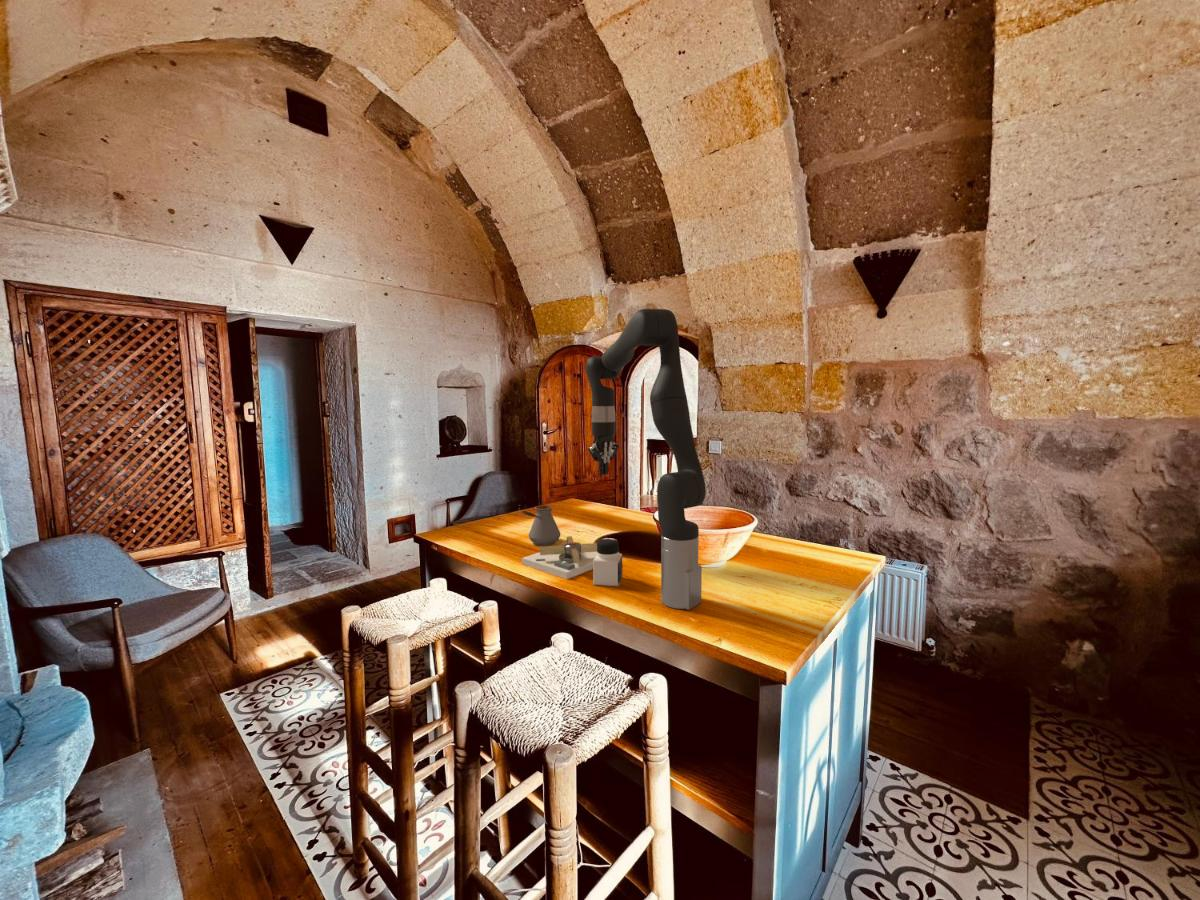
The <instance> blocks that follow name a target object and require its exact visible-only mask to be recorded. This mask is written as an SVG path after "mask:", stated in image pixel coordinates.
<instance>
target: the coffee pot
mask: <svg viewBox="0 0 1200 900" xmlns="http://www.w3.org/2000/svg"><path fill="white" fill-rule="evenodd" d="M553 509H554V507H553V506H551V505H537V506H535V507H534V510H535V511H536V513H535V514H534V513H532V512H530V511H527V510H522V511H520V512H519V514H518V515H519V516H521V513H522V514H524V516H522V518H524V517H525V516H526V515H527V516H528V517H533V518H534V520H533V523H532V526H531V527H530V530H529V532H528V535H527V537H528V539H529V540H530V541H531V542H532V543H533V544H534V545H535V546H536V545H537V546H541V547H544V546H552V545H554V544H555V543H556V542H557V541H558V540H559V539H560V537H561V532H560V529H559V527H558V525H557V523H556V521H555V518H554V516H553V514H552V510H553Z"/></svg>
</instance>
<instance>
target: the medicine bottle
mask: <svg viewBox="0 0 1200 900" xmlns="http://www.w3.org/2000/svg"><path fill="white" fill-rule="evenodd" d="M596 543H597V556H596V557H595V559H594V560H593V569H592V570H593V571H592V573H593V574H592V576H593V577H592V579H593V581H592V582H593V585H594V586H605V587H606V586H608V587H619V586H620V583H621V581H622V579H623V554H622V553H620V552H619V547H620V545H619V541H618V540H617V539H615V538H610V537H609V538H608V537H605V538H601V539H599V540H597V541H596Z"/></svg>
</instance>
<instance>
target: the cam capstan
mask: <svg viewBox="0 0 1200 900" xmlns="http://www.w3.org/2000/svg"><path fill="white" fill-rule="evenodd" d="M539 552H540V555H553V554H561V555H559V560H562V561H566V562H574V563H579V560H581V558H582V556H581V553H583V552H597V542H593V543H580V542H577V541H574V538H573V537H572V536H568V535H567V536H566V542H561V543H560V545H544V546H539Z"/></svg>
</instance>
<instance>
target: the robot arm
mask: <svg viewBox="0 0 1200 900" xmlns="http://www.w3.org/2000/svg"><path fill="white" fill-rule="evenodd" d="M640 346H644V347H653V346H654V347H658V348H659V353H660V365H659V366H660V367H659V370H658V374H657V376H656V378H655V379H654V380H655V381H654V382H653V384H652V389H651V391H650V396H649V402H650V409H651V417H652V419H653V424H654V426H655V428H656V430H657V431H658V433H659V435H661V437H662V438H663V440H664V441H665V442H666V443H667V445H668V447H669V448H670V450H671V452H672V454H673V456H674V460H675V464H676V469H677V471H675V472H673V471H672V472H669V473H665V474H662V475H661V477H660V478H659V480H658V484H657V488H656V496H657V497H656V498H657V501H656V502H657V513H658V514H657V517H658V524H659V526H660V535H661V536H660V537H661V538H660V541H661V542H660V543H661V546H660V549H661V550H660V552H661V553H660V556H661V557H660V563H661V565H660V568H661V569H660V570H661V571H660V579H661V581H660V586H661V588H660V589H661V590H660V601H661V603H662V604H663V605H665V606H666V607H670V608H671V609H680V610H681V609H682V610H687V611H688V610H689V611H690V610H692V609H693V608H694V607H696V606H698V605H699V604H701V603H702V581H703V580H702V578H703V577H702V574H703V573H702V571H703V569H702V565H699V542H700V541H699V532H700V531H699V530H700V529H699V525H698V524H697V523H696V522H694V521H691V520H688V519H686V515H685V509H690V508H695V507H699V506H700V505H702V504H703V502H704V501H705V499H706V495H707V489H706V488H707V486H706V481H705V477H704V473H703V469H702V466H701V462H700V459H699V456H698V455H699V454H698V451H697V448H696V443H695V438H694V434H693V428H692V422H691V416H690V409H689V402H688V398H687V394H686V393H687V392H686V388H685V383H684V376H683V370H682V369H683V368H682V363H681V362H682V361H681V351H680V350H681V349H680V339H679V327H678V321H677V318H676V316H675V314H674V313H673V311H672V310H670V309H666V308H665V309H664V308H642V309H639V310H637V311H636V312H635V313H634V314H633V315H632V317H631V318H630V319H629V321H628V322H627V324H626V326H625V327H624V328H623V330H622V331H621V333H620V335H619V336H618V338H617V339H616V340H615V342H613V343H612V344H611V345H610V346H609V347H608V348H607V349H605V350H604V352H603V353H602V356H591V357H589V358H588V360H587V361H586V364H585V371H586V372H585V373H586V375H587V379H588V382H589V385H590V390H591V401H592V402H591V403H592V404H591V405H592V407H591V408H592V409H591V435H592V436H593V441H592V445H590V446H588V447H587V450H588V452H589V453H590V455H591V457H592V459H593V460H594V461H595V462H596V463H598V464H599V474H600V475H601V476H602V475H603V476H606V475H608V474H609V469H610V468H609V466H610V462H611V461H613V460H614V458H615V456H616V453H617V452H618V449H619V447H620V444H618V443H616V442H615V438H614V436H616V410H615V409H616V407H615V390H614V389H613V388H612V387H609V386H605V385H603V383H602V381H601V380H613V379H617V377H619V375H620V373H621V370H622V369H623V367H625V366H626V365H627V364H628V363H630V362H631V361H632V359H633V358H634V355H635V348H637V347H640Z"/></svg>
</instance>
